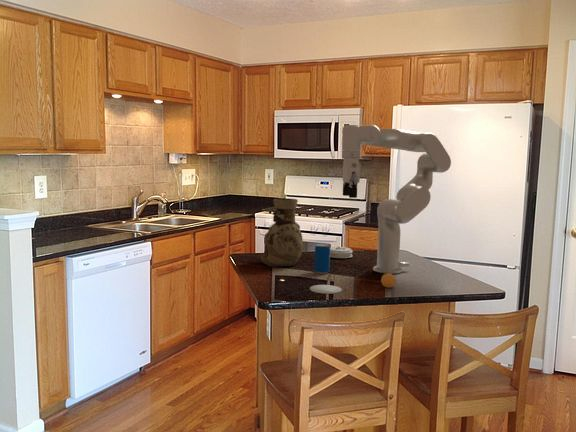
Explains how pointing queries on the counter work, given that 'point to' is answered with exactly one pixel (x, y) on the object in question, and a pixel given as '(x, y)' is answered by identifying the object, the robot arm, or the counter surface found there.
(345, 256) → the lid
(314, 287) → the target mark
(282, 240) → the ceramic vessel
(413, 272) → the counter surface
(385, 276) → the ball
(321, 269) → the beverage can
